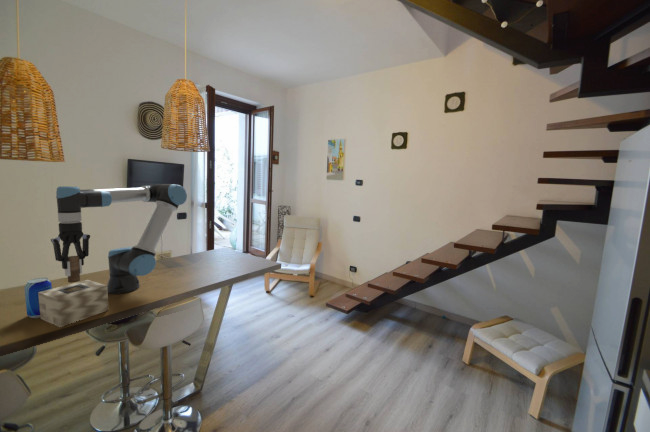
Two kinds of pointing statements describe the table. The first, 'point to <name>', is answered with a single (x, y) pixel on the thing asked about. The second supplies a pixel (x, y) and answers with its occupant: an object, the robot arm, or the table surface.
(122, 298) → the table surface
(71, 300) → the tissue box
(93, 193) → the robot arm
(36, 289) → the beer can
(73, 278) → the peg
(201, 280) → the table surface
